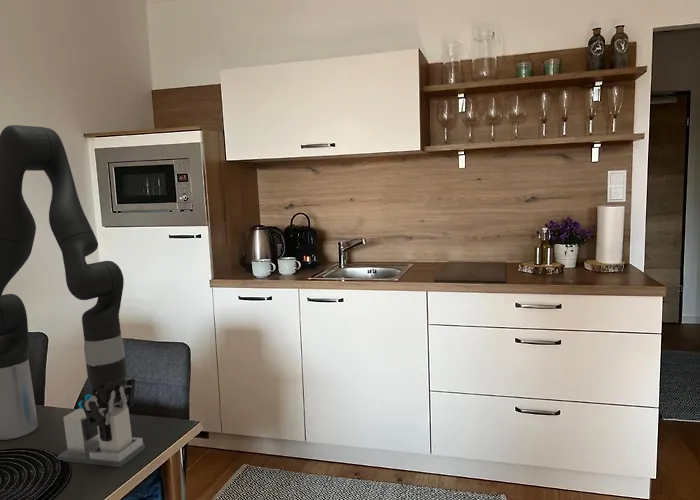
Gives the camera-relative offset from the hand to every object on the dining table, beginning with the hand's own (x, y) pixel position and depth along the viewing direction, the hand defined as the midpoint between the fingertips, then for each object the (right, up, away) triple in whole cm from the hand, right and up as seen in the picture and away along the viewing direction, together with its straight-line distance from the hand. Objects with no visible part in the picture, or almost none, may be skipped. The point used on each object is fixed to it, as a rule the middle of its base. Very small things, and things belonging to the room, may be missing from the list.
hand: (114, 434), depth 118 cm
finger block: (0, -3, 0) cm, 3 cm away
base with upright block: (-4, -5, +2) cm, 6 cm away
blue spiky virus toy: (-13, -4, +17) cm, 22 cm away
